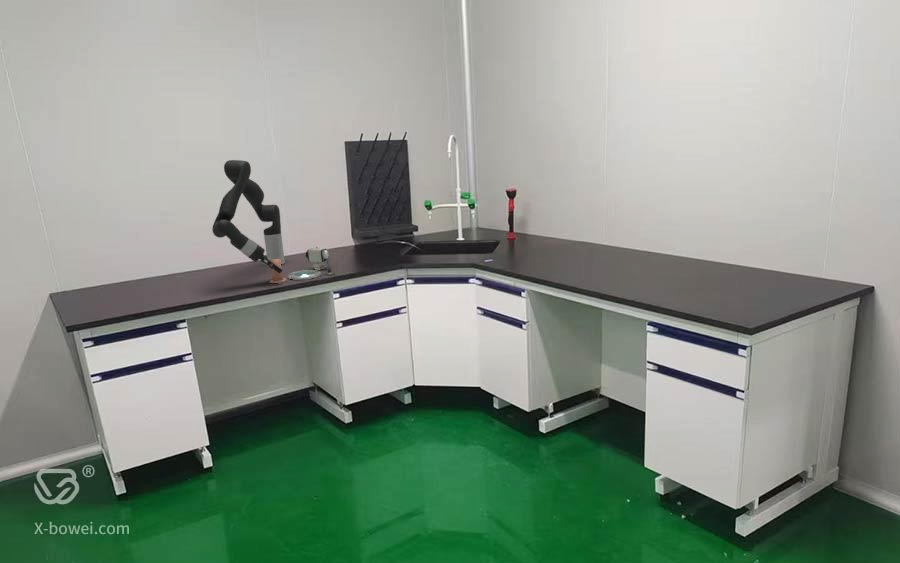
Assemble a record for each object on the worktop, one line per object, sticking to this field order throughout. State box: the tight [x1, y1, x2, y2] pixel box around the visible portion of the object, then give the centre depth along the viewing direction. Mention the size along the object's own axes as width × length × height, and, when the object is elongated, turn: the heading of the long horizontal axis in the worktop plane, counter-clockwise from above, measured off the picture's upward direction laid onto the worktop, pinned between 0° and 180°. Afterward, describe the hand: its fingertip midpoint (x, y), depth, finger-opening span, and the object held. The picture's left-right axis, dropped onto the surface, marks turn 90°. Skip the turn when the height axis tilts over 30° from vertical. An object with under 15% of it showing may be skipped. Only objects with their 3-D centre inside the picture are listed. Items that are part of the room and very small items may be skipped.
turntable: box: [287, 269, 322, 281], centre depth 290 cm, size 16×16×2 cm
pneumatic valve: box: [305, 246, 328, 271], centre depth 303 cm, size 6×12×12 cm, turn 69°
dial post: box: [322, 249, 335, 276], centre depth 291 cm, size 4×4×13 cm
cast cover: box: [269, 259, 288, 284], centre depth 280 cm, size 8×8×11 cm
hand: (279, 270), depth 280 cm, fingers open, 7 cm apart
